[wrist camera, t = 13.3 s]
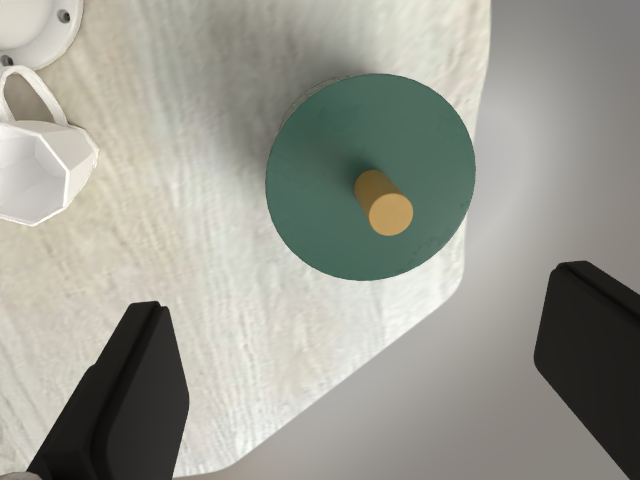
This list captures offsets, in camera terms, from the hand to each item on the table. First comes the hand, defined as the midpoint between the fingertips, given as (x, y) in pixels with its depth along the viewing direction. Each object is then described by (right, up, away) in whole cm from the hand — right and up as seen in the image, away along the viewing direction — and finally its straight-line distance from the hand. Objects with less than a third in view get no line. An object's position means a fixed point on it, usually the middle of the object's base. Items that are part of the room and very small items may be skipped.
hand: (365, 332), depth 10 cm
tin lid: (+2, +6, +17) cm, 18 cm away
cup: (-22, +11, +23) cm, 34 cm away
